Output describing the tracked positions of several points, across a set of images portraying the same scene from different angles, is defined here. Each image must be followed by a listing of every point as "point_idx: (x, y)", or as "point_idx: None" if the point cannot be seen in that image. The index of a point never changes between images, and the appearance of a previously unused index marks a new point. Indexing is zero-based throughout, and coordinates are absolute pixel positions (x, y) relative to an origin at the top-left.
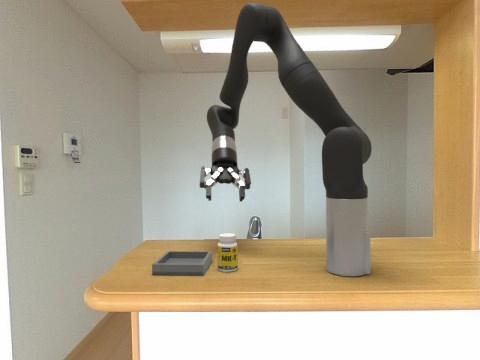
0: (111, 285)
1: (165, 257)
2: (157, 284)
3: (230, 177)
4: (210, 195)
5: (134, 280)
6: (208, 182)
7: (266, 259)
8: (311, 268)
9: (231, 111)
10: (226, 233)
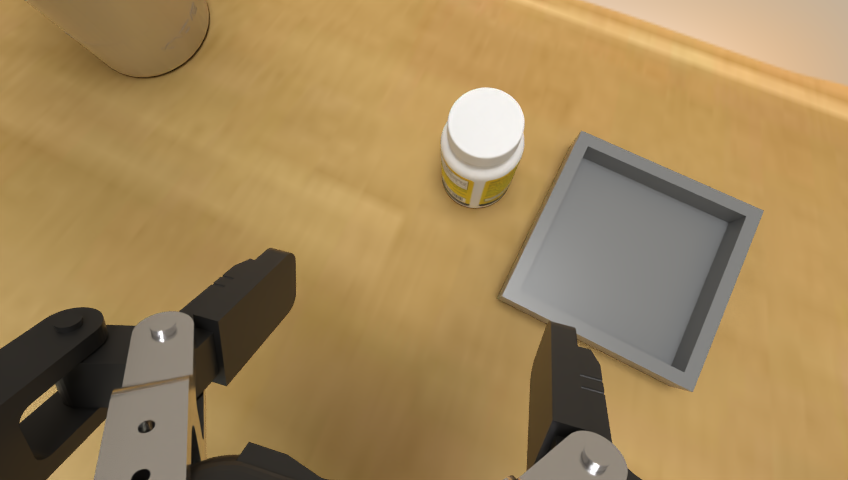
0: None
1: (701, 316)
2: (720, 128)
3: (232, 476)
4: (559, 326)
5: (794, 191)
6: (599, 459)
7: (301, 227)
8: (227, 80)
9: None
10: (479, 153)
